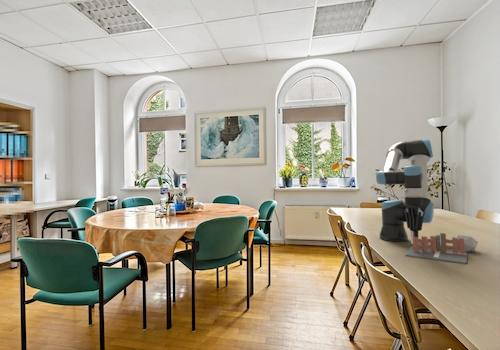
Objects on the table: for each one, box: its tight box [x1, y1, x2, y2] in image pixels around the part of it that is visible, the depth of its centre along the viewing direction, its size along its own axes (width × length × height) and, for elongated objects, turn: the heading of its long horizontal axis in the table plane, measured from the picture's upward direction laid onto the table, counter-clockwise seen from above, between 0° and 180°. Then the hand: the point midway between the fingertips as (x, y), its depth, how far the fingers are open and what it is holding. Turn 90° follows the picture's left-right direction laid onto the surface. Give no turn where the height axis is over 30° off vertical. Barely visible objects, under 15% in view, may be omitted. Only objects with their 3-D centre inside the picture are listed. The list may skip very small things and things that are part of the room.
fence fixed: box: [439, 232, 465, 254], centre depth 130 cm, size 9×2×9 cm, turn 51°
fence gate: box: [412, 234, 441, 252], centre depth 134 cm, size 13×2×7 cm, turn 91°
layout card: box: [404, 245, 468, 265], centre depth 131 cm, size 20×23×1 cm
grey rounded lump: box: [456, 234, 479, 253], centre depth 135 cm, size 8×9×10 cm
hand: (414, 243), depth 136 cm, fingers closed
